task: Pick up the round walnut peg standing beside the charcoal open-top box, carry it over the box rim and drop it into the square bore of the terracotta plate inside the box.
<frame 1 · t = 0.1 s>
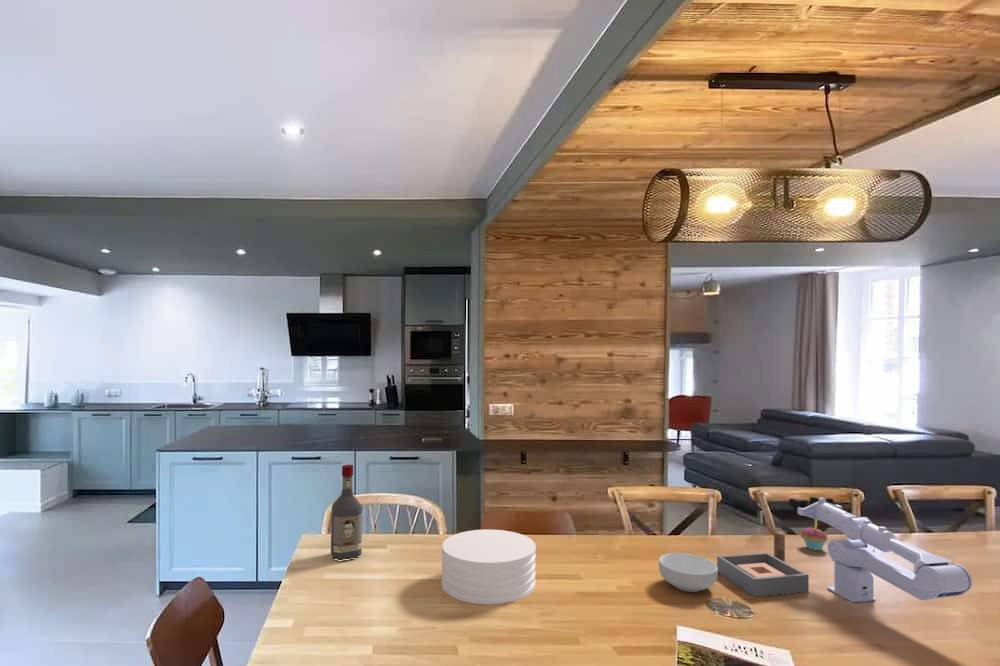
hand: (800, 500, 181), 22 cm above the table, tool horizontal, fingers open, 7 cm apart
cupcake: (813, 548, 199), on the table
plate stack: (488, 583, 167), on the table
peg: (779, 563, 185), on the table
cereal bowl: (687, 587, 166), on the table
box: (760, 581, 170), on the table
liquor: (345, 556, 186), on the table
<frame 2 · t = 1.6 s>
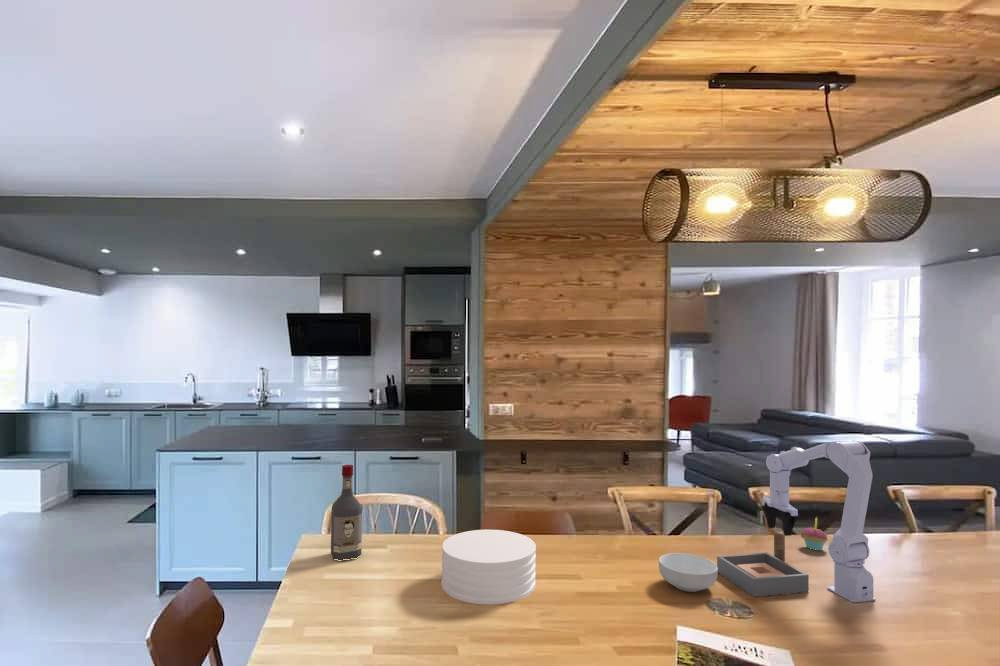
hand: (779, 531, 185), 10 cm above the table, tool pointing down, fingers open, 7 cm apart
nothing on the table moved.
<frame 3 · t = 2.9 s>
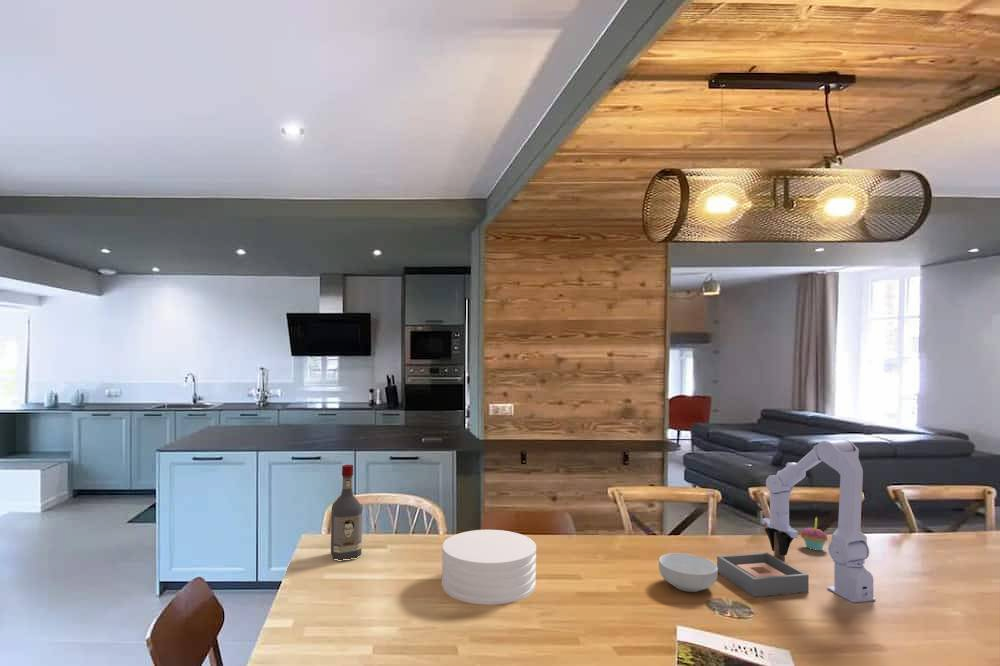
hand: (779, 552, 185), 3 cm above the table, tool pointing down, fingers closed on peg, 3 cm apart
peg: (779, 563, 185), on the table, touching gripper
everything else where it was.
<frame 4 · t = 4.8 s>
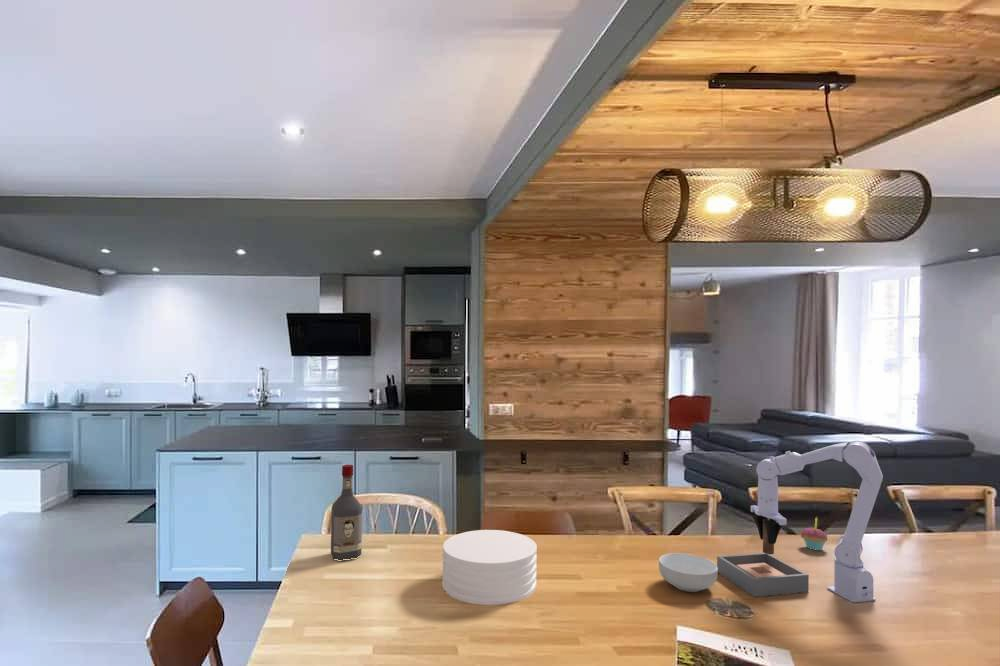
hand: (767, 541, 175), 10 cm above the table, tool pointing down, fingers closed on peg, 3 cm apart
peg: (768, 552, 175), point 7 cm above the table, touching gripper
everything else where it was.
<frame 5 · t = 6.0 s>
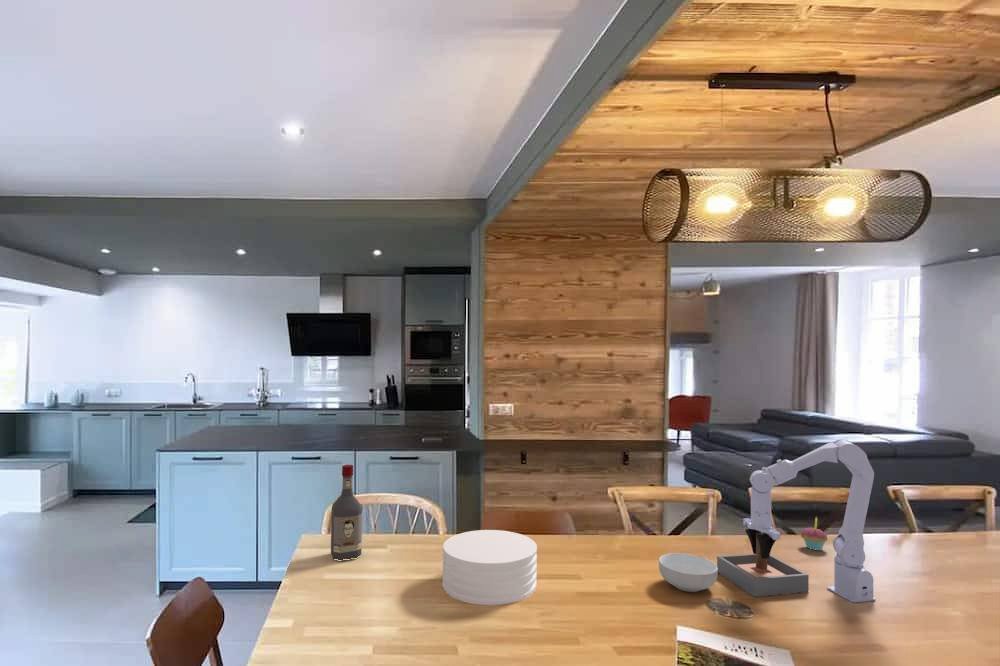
hand: (760, 555, 170), 8 cm above the table, tool pointing down, fingers closed on peg, 3 cm apart
peg: (761, 567, 170), point 4 cm above the table, touching gripper
everything else where it was.
when the fingers open (5 cm above the table, at t = 7.0 s): peg stays where it is, resting on box.
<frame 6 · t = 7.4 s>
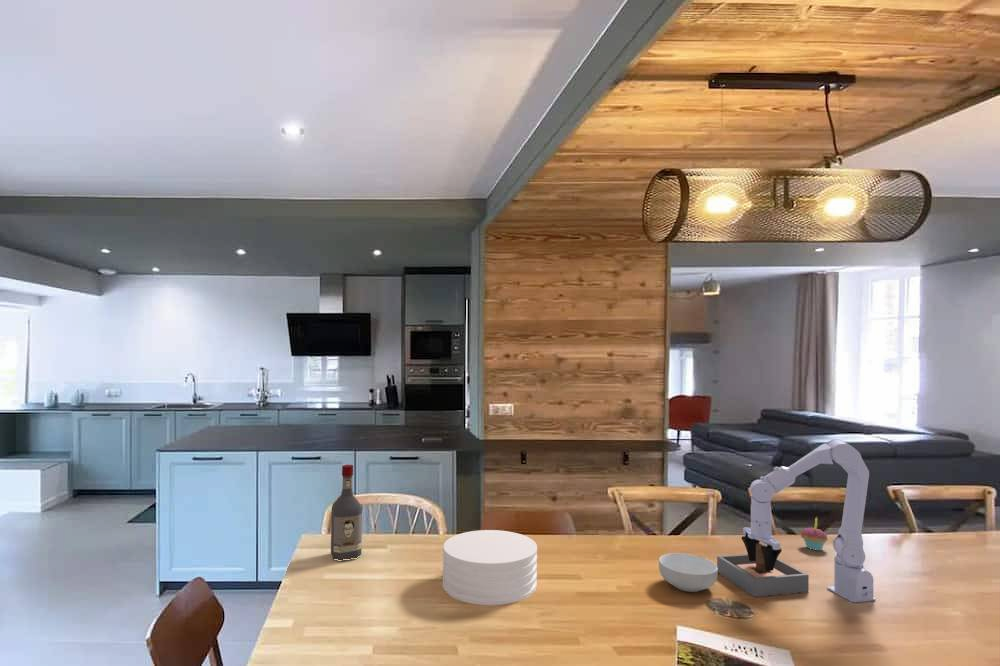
hand: (760, 565, 170), 5 cm above the table, tool pointing down, fingers open, 7 cm apart
peg: (761, 578, 170), point 1 cm above the table, touching box
everything else where it was.
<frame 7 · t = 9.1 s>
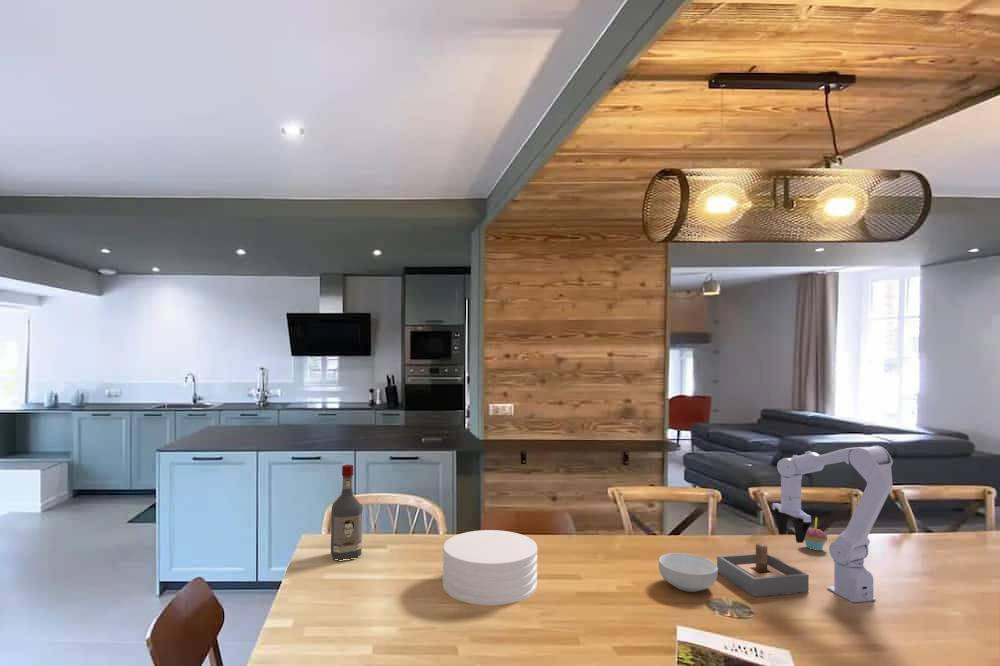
hand: (791, 538, 179), 10 cm above the table, tool pointing down, fingers open, 7 cm apart
nothing on the table moved.
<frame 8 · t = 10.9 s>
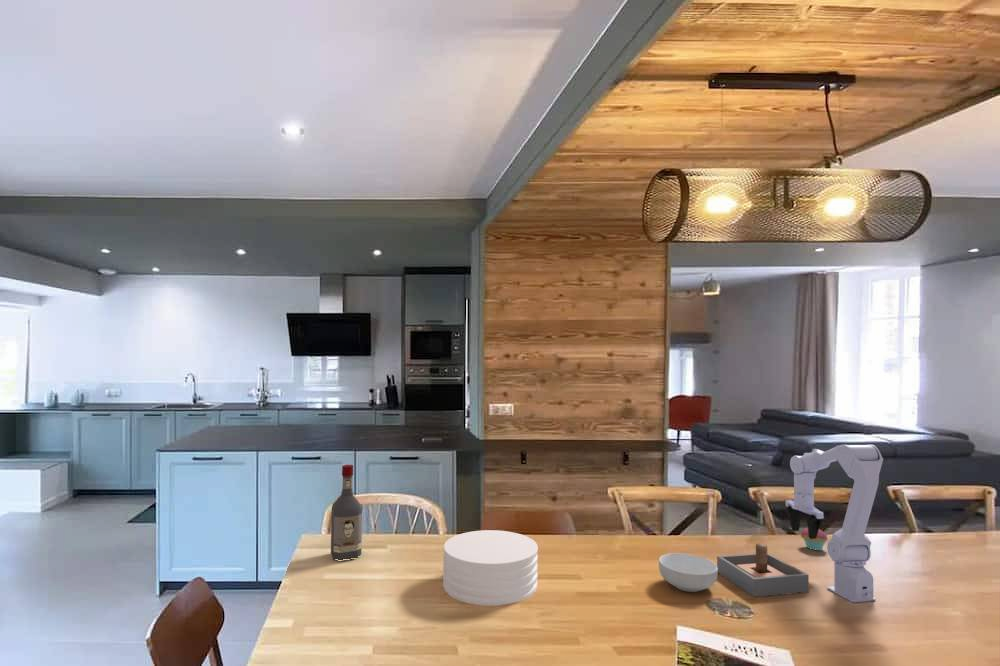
hand: (803, 534, 182), 10 cm above the table, tool pointing down, fingers open, 7 cm apart
nothing on the table moved.
at the end: peg 0.2 cm off-centre on the box, point 1.0 cm above the box's base; peg tilted 0°; the gripper is holding nothing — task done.
